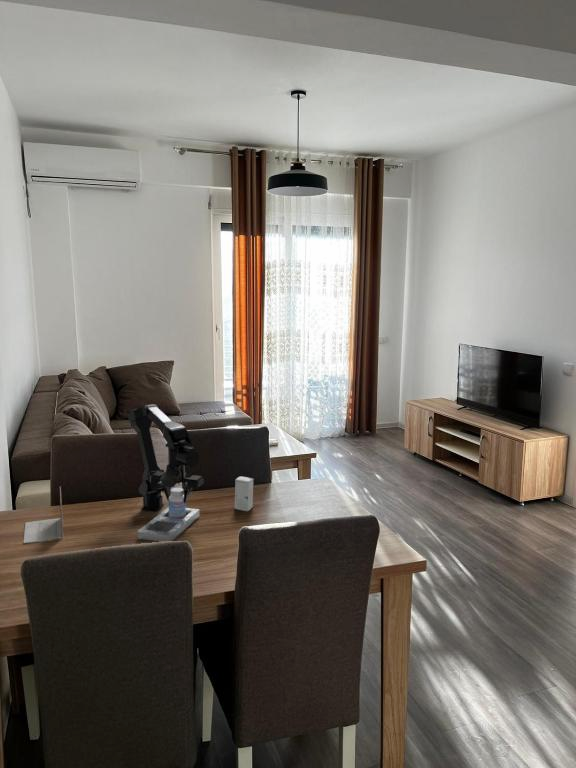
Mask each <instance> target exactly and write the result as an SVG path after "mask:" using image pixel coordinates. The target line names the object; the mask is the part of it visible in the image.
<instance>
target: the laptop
mask: <svg viewBox="0 0 576 768" xmlns="http://www.w3.org/2000/svg"><path fill="white" fill-rule="evenodd" d="M61 487H62V486H59V506H60V517H58V518H49V519H41V520H32V521H26V522H25V523H24V531H23V532H24V533H23V540H22V541H23V542H22V543H23V544H33V543H43V542H48V541H49V542H50V541H56V540H63V539H64V538H63V537H64V530H63V529H64V526H63V525H64V524H63V523H64V522H63V519H64V518H63V506H62V488H61Z"/></svg>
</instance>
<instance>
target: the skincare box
mask: <svg viewBox="0 0 576 768" xmlns="http://www.w3.org/2000/svg"><path fill="white" fill-rule="evenodd" d="M234 482H235V484H234V488H235V489H234V509H235V510H239V511H244V512H249V511H251V508H252V509H253V504H254V503H253V501H254V498H253V497H254V478H252V477H247V476H238V477H237V478H235V481H234Z"/></svg>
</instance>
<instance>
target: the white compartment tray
mask: <svg viewBox="0 0 576 768" xmlns="http://www.w3.org/2000/svg"><path fill="white" fill-rule="evenodd" d="M199 518H200V509H198V508H191V507H185V517H184V518H183V519H178V518H171V517H169V506H167V507H166V508H165V509H164V510H163V511H161V512H160V513H159V514H158V515H156V516H155V517H154V518H153V519H151V520H150V521H149V522H147V523H146V524H145V525H143V526H142V527H141V528H140V529H138V530H137V540H138V541H145V542H153V543H158V542H159V541H173V540H174V541H175V540H176V539H177V538H179V536H181V535H182V534H183V533H184V532H185V531H186V530H188V528H189V527H191V526H192V525H193V524H194V523H195V522H196V521H197V520H198V519H199ZM174 541H173V542H174Z"/></svg>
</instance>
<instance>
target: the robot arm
mask: <svg viewBox="0 0 576 768" xmlns="http://www.w3.org/2000/svg"><path fill="white" fill-rule="evenodd" d="M127 419H128V422H129V424H130V427H131V428H132V429H133V430H134V432H135V433H136V434H137V440H138V445H139V448H140V453H141V457H142V463H143V466H144V471H143V474H142V477H141V478H142V479H141V480H142V482H141V484H140V485H139V487H138V493H139V494H140V495H142V502H143V505H142V507H141V510H143V511H150V512H151V511H152V512H157V511H159V510H160V509H161V508H162V507H164V503H163V495H162V492H163V493H164V495H165V497H166V500H167V502H169V496H170V495H171V489H172V488H175V486H176V485H177V484H178V485H179V484H181V483H182V484H183V483H184V484H185V486H183V487H182V489H183V490H184V493H183V495H184V503H185V504H186V503H187V502H188V500H189V497H190V494H191V492H192V490H193V489H198V488H199V487H201V486H202V485H203V484H204V478H203V476H202V475H191V476H190V477H186V476H187V472H186V471H185V466H186V467H188V468H195V467H196V466H197V465H198V464H199V462H200V456H199V454H198V452H196V451H195V447H193V443H192V441H193V440H192V439H191V437H190V434H189V433H188V429H187V428H186V426H184V425H183V424H181V423H179V422H175V421H172V420H171V419H170V418H169V417H168V416H167V415H166V414H165V413H164V412H163V411H162V410H161V409H159V407H158V405H157V404H154V403H151V404H145V405H143V406H141V407H139V408H135V409H131V410H130V412H129V413H128V414H127ZM152 424H154V425H155V426H156V427H157V428H158V429H159V430H160V431H161V432H162V437H163V439H164V440H165V441H166V443H165V445H164V446H165V448H167V456H168V458H167V459H168V460H167V462H168V464H166V469H165V471H164V469H161V468H160V467H159V466H158V461H157V457H156V453H155V448H154V443H153V439H152V433H151V431H150V429H151V426H152Z"/></svg>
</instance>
